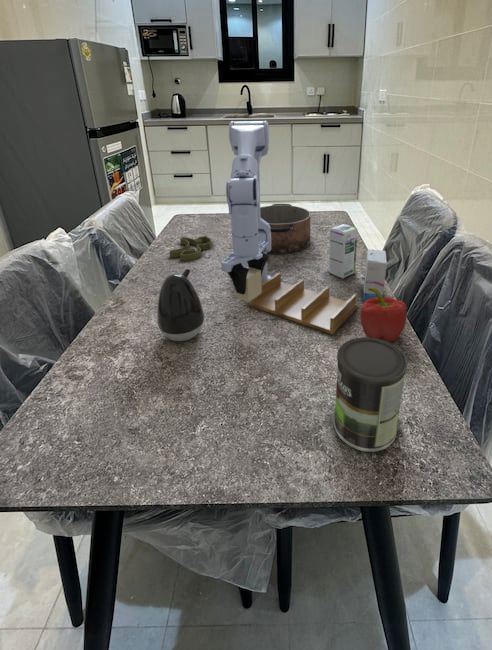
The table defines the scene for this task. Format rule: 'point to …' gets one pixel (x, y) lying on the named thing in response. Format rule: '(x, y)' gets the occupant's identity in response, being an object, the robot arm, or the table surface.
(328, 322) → the dish rack
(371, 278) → the ink box
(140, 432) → the table surface
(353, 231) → the syrup box
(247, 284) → the block
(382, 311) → the vegetable
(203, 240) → the cookie cutter
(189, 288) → the black rounded egg shape
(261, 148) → the robot arm
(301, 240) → the cooking pot
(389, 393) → the coffee can
